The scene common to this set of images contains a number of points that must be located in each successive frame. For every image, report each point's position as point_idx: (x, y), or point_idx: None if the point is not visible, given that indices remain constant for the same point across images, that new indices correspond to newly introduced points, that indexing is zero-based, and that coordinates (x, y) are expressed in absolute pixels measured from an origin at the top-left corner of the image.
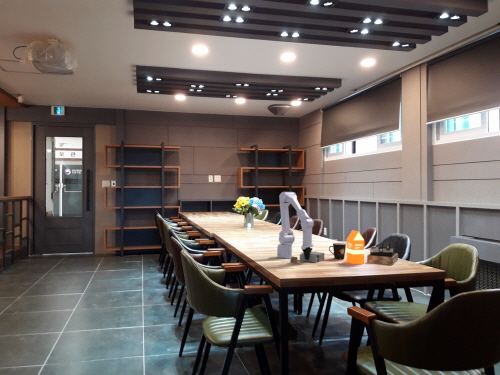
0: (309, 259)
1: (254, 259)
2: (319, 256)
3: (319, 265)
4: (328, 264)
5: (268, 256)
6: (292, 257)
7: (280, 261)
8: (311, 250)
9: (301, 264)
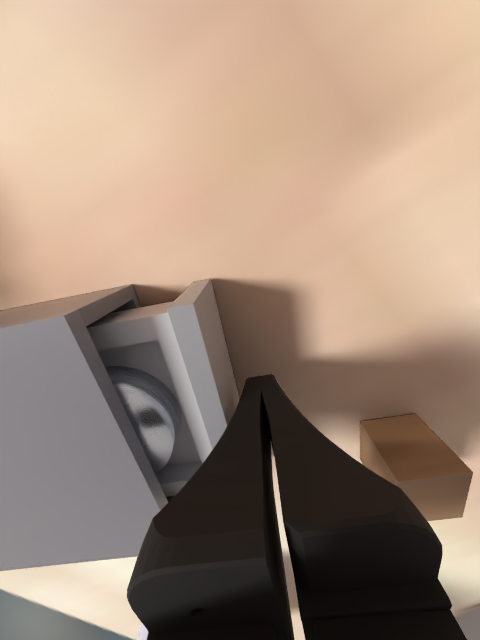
0: (229, 378)
1: None
2: (66, 308)
3: (379, 109)
4: (191, 25)
5: None
6: (466, 499)
7: None
8: (198, 492)
9: (437, 342)
